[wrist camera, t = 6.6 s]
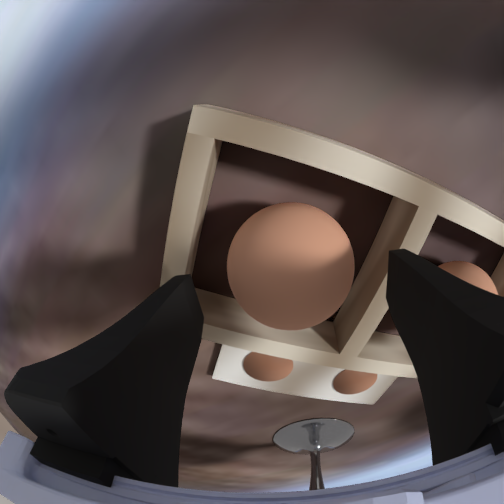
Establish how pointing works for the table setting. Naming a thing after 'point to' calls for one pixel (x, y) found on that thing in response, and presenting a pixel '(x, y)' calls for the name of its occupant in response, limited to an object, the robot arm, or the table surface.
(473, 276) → the ball
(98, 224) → the table surface
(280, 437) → the wine glass
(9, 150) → the table surface
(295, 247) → the loose ball
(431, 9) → the table surface
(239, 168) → the table surface
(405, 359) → the rack
